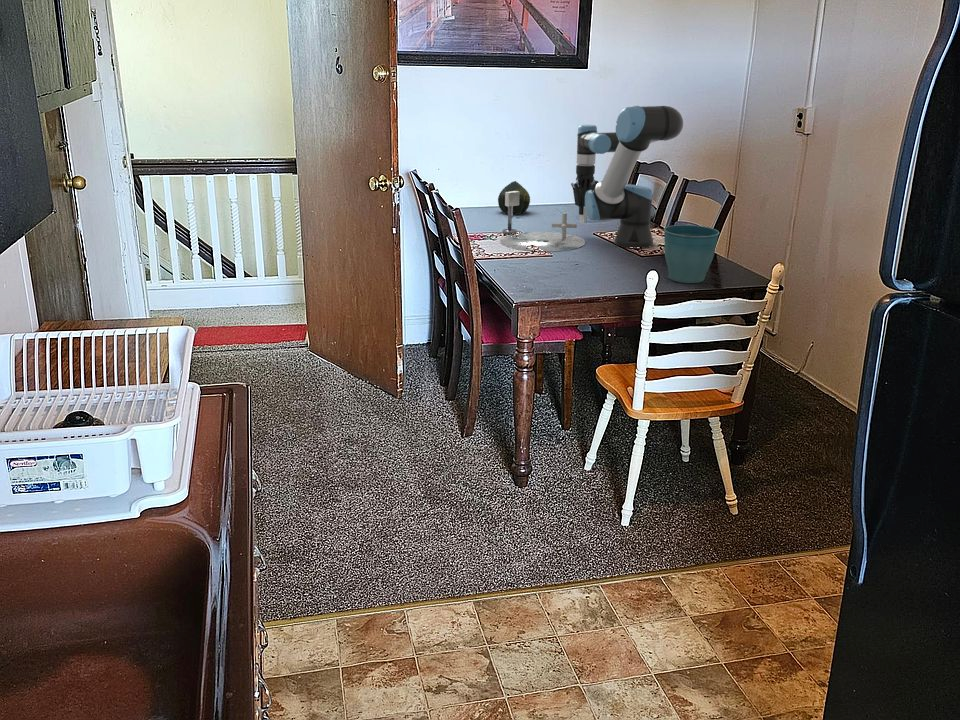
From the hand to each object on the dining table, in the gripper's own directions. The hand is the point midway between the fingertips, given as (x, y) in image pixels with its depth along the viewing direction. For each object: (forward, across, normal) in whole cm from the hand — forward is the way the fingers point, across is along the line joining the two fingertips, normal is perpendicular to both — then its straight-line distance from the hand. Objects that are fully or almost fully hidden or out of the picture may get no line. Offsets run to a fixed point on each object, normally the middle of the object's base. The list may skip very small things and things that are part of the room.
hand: (582, 222), depth 354 cm
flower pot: (+6, +16, +72) cm, 74 cm away
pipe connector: (+5, +10, 0) cm, 11 cm away
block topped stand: (+5, +22, -21) cm, 31 cm away
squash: (+6, -5, -55) cm, 56 cm away
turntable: (+5, +21, 0) cm, 22 cm away
